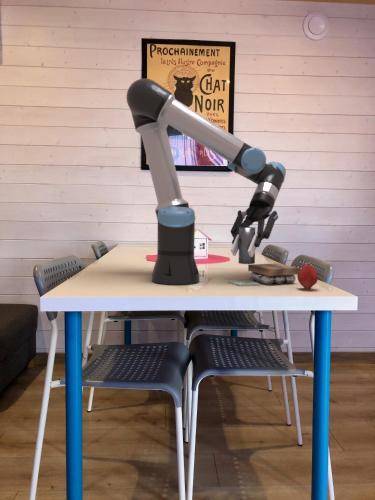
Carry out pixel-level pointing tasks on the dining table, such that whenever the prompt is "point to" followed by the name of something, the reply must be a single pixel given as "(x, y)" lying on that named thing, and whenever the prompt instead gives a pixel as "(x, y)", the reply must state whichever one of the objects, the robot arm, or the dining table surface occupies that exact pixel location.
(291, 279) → the roller track
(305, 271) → the red strawberry
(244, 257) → the steel roller
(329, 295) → the dining table surface
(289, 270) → the slab
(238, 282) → the stop pad
